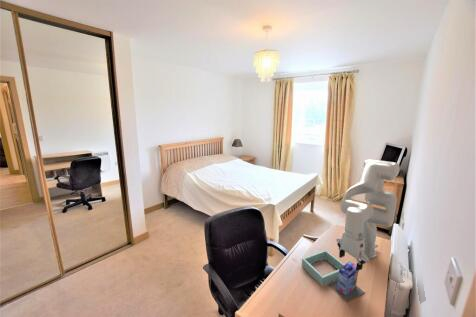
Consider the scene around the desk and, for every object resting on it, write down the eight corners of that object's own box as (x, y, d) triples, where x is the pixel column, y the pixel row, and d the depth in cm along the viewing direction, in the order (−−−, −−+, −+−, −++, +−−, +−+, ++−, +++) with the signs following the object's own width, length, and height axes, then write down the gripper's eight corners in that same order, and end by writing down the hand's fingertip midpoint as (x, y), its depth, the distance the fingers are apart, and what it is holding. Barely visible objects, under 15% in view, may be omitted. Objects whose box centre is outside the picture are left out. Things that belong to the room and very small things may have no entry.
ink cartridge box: (346, 296, 102) (349, 271, 99) (336, 289, 107) (338, 264, 104) (357, 286, 108) (360, 262, 105) (346, 279, 112) (349, 256, 109)
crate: (325, 257, 130) (325, 249, 129) (347, 275, 116) (347, 267, 115) (301, 265, 124) (302, 258, 123) (322, 286, 109) (322, 277, 108)
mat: (346, 277, 114) (346, 276, 114) (364, 293, 105) (364, 292, 105) (329, 284, 110) (329, 284, 110) (347, 302, 100) (347, 301, 100)
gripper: (376, 240, 94) (371, 272, 98) (343, 221, 109) (341, 250, 113) (364, 245, 91) (360, 278, 95) (332, 225, 106) (330, 254, 111)
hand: (350, 262), depth 104 cm, fingers open, 9 cm apart
